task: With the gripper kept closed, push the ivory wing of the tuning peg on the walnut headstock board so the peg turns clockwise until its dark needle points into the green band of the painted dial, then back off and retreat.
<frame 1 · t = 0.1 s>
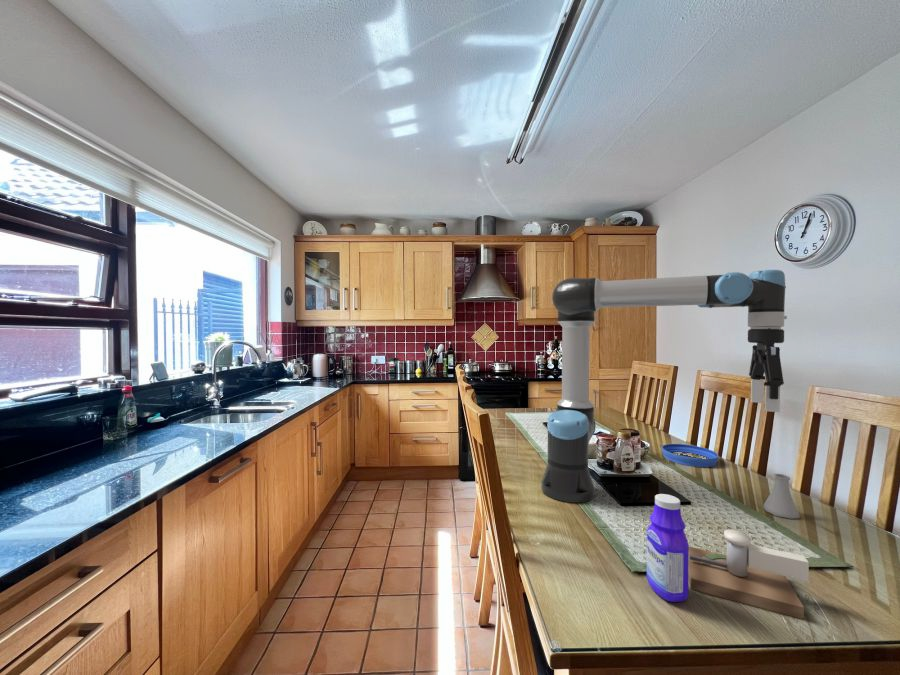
hand: (764, 406, 101), 28 cm above the table, fingers open, 13 cm apart
bowl: (689, 460, 141), on the table
flask: (780, 513, 99), on the table
headstock board: (736, 583, 71), on the table
peg: (744, 554, 71), point 6 cm above the table, hinge at 0.0°
bottle: (666, 592, 69), on the table
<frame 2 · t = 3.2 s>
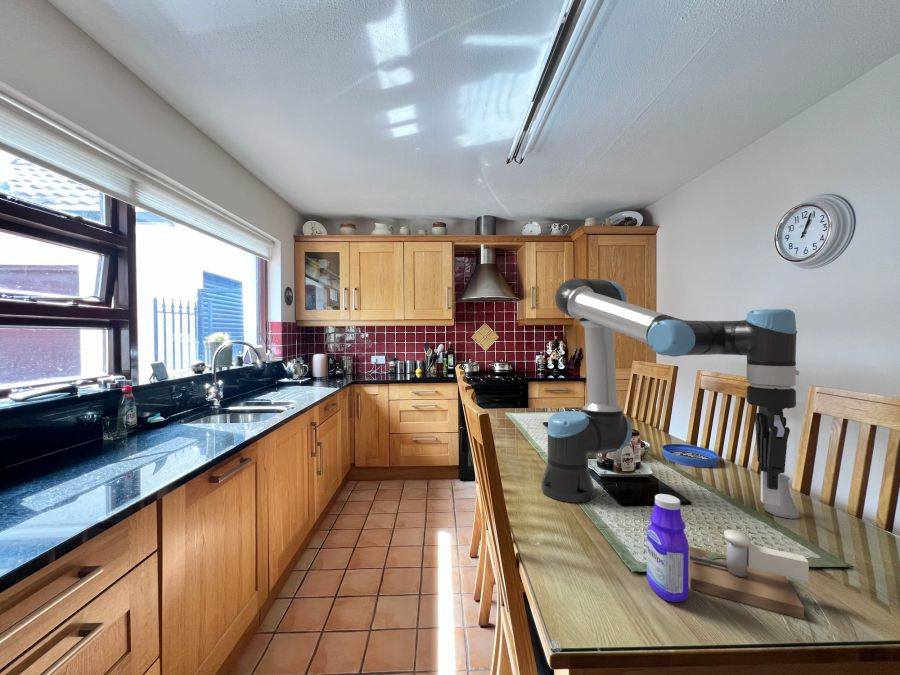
hand: (770, 502, 75), 14 cm above the table, fingers closed
nothing on the table moved.
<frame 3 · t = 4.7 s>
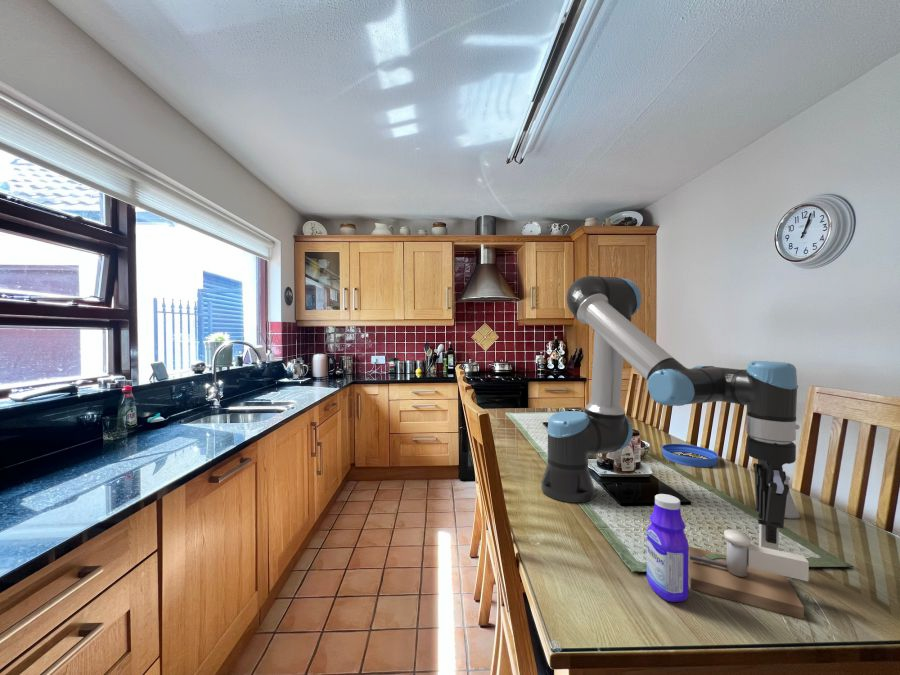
hand: (768, 555, 75), 3 cm above the table, fingers closed
nothing on the table moved.
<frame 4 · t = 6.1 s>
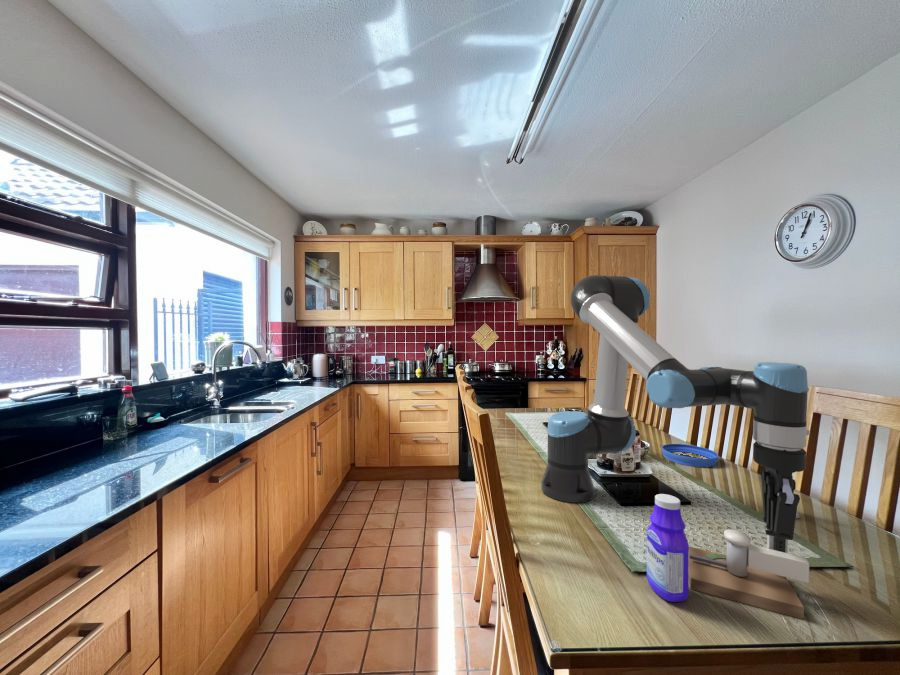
hand: (776, 567, 71), 3 cm above the table, fingers closed
peg: (744, 555, 71), point 6 cm above the table, hinge at 2.3°, touching gripper
everything else where it was.
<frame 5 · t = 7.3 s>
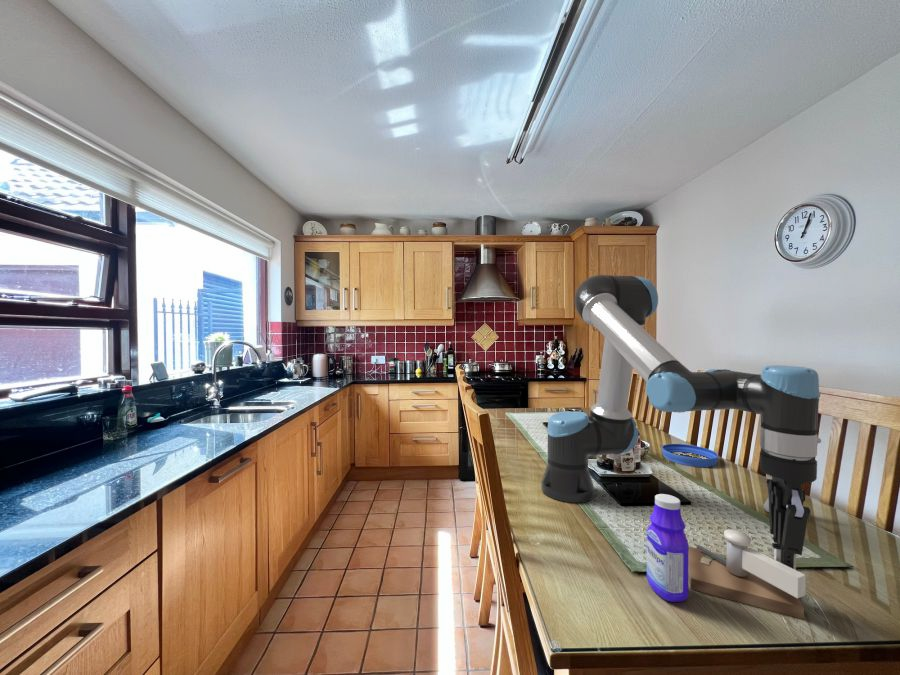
hand: (784, 583, 67), 3 cm above the table, fingers closed
peg: (743, 556, 70), point 6 cm above the table, hinge at 41.8°, touching gripper
everything else where it was.
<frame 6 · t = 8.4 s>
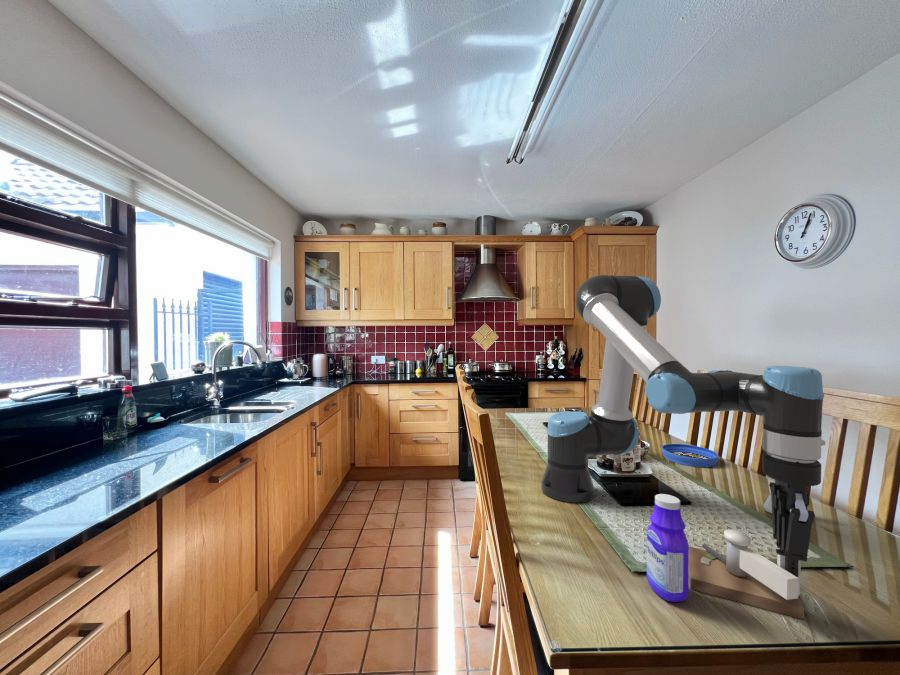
hand: (788, 590, 65), 3 cm above the table, fingers closed
peg: (742, 556, 70), point 6 cm above the table, hinge at 53.6°, touching gripper
everything else where it was.
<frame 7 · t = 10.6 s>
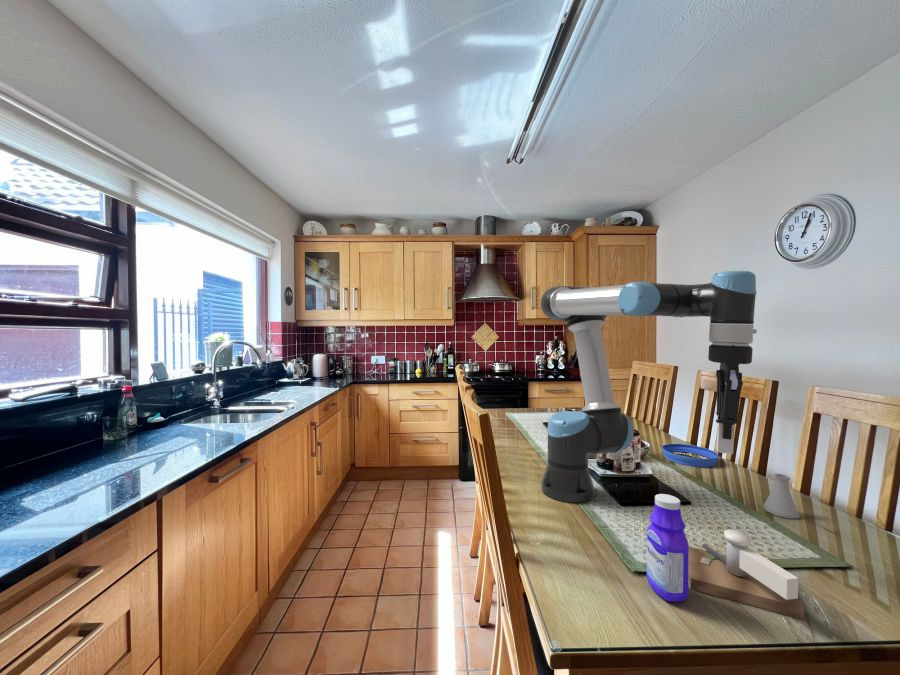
hand: (724, 452, 81), 22 cm above the table, fingers closed
peg: (742, 556, 70), point 6 cm above the table, hinge at 53.9°
everything else where it was.
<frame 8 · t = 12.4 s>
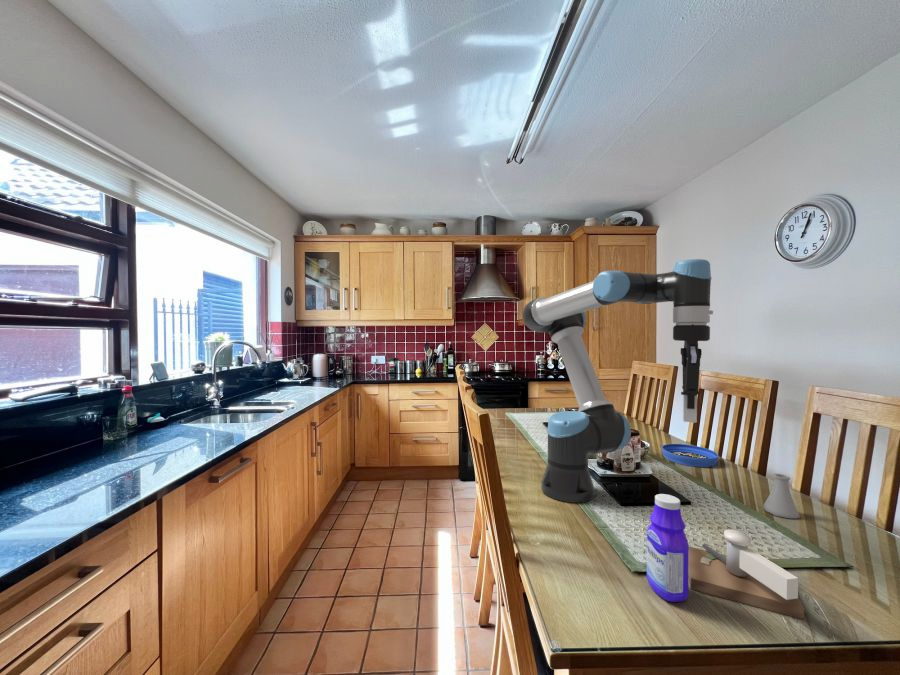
hand: (689, 421, 90), 26 cm above the table, fingers closed
nothing on the table moved.
at the end: peg at +54° (first picture: +0°) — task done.
